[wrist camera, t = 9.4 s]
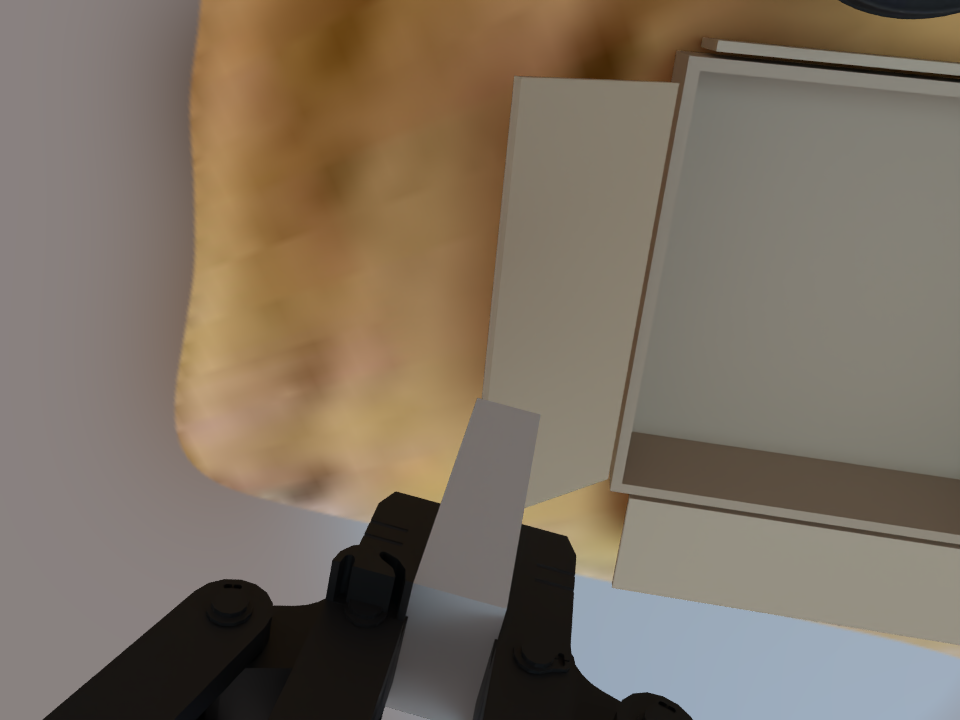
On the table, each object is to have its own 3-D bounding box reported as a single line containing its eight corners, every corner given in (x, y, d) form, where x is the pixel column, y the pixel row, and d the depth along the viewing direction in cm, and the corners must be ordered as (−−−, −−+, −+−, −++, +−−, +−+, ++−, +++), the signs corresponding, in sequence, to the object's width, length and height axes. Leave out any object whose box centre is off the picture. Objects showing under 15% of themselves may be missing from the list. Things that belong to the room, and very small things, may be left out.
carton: (679, 34, 36) (692, 37, 31) (1294, 95, 34) (1427, 110, 28) (594, 518, 47) (592, 584, 41) (1057, 591, 44) (1120, 671, 39)
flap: (679, 83, 31) (671, 81, 31) (521, 77, 27) (514, 75, 27) (607, 479, 38) (602, 475, 38) (474, 525, 34) (469, 520, 34)
